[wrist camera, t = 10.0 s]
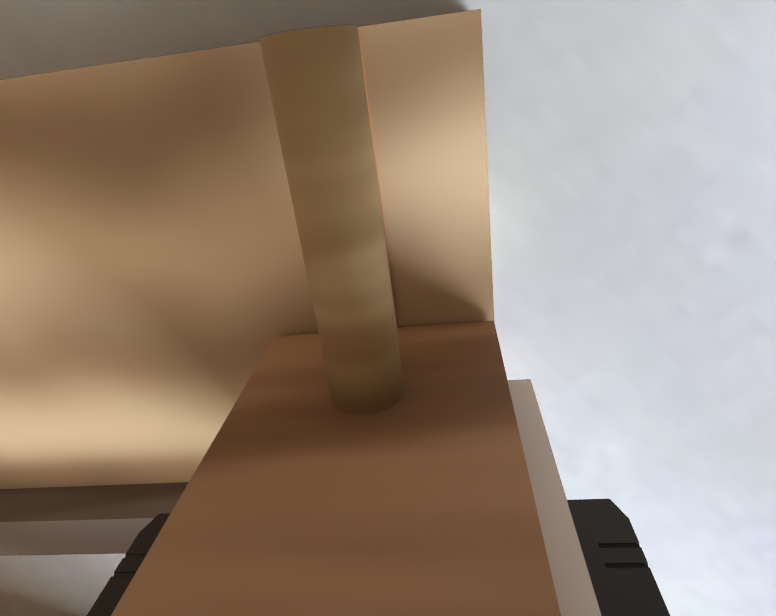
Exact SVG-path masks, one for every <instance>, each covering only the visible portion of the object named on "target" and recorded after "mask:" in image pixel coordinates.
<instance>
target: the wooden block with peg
mask: <svg viewBox="0 0 776 616" xmlns="http://www.w3.org/2000/svg"><path fill="white" fill-rule="evenodd" d="M259 40H260V45H261V50H262V55H263V60H264V65H265V70H266V75H267V80H268V85H269V90H270V95H271V100H272V105H273V110H274V115H275V120H276V124H277V129H278V134H279V139H280V144H281V149H282V154H283V159H284V164H285V169H286V174H287V179H288V184H289V189H290V194H291V199H292V204H293V209H294V214H295V219H296V224H297V228H298V233H299V238H300V243H301V248H302V253H303V258H304V263H305V268H306V273H307V278H308V283H309V288H310V293H311V298H312V303H313V308H314V313H315V318H316V323H317V328H318V333H314V334H300V335H286V336H274V338H273V339H272V341H271V343H270V345H269V346H268V348H267V350H266V351H265V353H264V355H263V356H262V358H261V360H260V362H259V363H258V365H257V367H256V368H255V370H254V372H253V374H252V375H251V377H250V379H249V380H248V382H247V384H246V386H245V387H244V389H243V391H242V392H241V394H240V396H239V398H238V399H237V401H236V403H235V404H234V406H233V408H232V409H231V411H230V413H229V415H228V416H227V418H226V420H225V421H224V423H223V425H222V427H221V428H220V430H219V432H218V433H217V435H216V437H215V439H214V440H213V442H212V444H211V445H210V447H209V449H208V451H207V452H206V454H205V456H204V457H203V459H202V461H201V462H200V464H199V466H198V468H197V469H196V471H195V473H194V474H193V476H192V478H191V480H190V481H189V483H188V485H187V486H186V488H185V490H184V492H183V493H182V495H181V497H180V498H179V500H178V502H177V503H176V505H175V507H174V509H173V510H172V512H171V514H170V515H169V517H168V519H167V521H166V522H165V524H164V526H163V527H162V529H161V531H160V533H159V534H158V536H157V538H156V539H155V541H154V543H153V545H152V546H151V548H150V550H149V551H148V553H147V555H146V556H145V558H144V560H143V562H142V563H141V565H140V567H139V568H138V570H137V572H136V574H135V575H134V577H133V579H132V580H131V582H130V584H129V586H128V587H127V589H126V591H125V592H124V594H123V596H122V598H121V599H120V601H119V603H118V604H117V606H116V608H115V609H114V611H113V613H112V615H111V616H561V614H560V609H559V605H558V600H557V596H556V592H555V587H554V583H553V578H552V574H551V570H550V565H549V561H548V557H547V552H546V548H545V543H544V539H543V535H542V530H541V526H540V521H539V517H538V513H537V508H536V504H535V500H534V495H533V491H532V486H531V482H530V478H529V473H528V469H527V464H526V460H525V456H524V451H523V447H522V443H521V438H520V434H519V429H518V425H517V421H516V416H515V412H514V407H513V403H512V399H511V394H510V390H509V386H508V381H507V377H506V372H505V368H504V364H503V359H502V355H501V350H500V346H499V342H498V337H497V333H496V329H495V324H494V320H492V321H479V322H465V323H451V324H437V325H424V326H410V327H397V325H396V318H395V310H394V302H393V295H392V287H391V279H390V272H389V264H388V256H387V249H386V241H385V233H384V226H383V218H382V210H381V203H380V195H379V187H378V180H377V172H376V164H375V157H374V149H373V141H372V134H371V126H370V118H369V111H368V103H367V95H366V88H365V80H364V72H363V65H362V57H361V49H360V42H359V34H358V26H357V25H334V26H323V27H314V28H306V29H299V30H292V31H286V32H281V33H275V34H271V35H267V36H263V37H260V38H259Z"/></svg>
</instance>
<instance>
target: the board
mask: <svg viewBox="0 0 776 616" xmlns="http://www.w3.org/2000/svg"><path fill="white" fill-rule="evenodd" d="M358 34H359V42H360V49H361V57H362V65H363V72H364V80H365V88H366V95H367V103H368V111H369V118H370V126H371V134H372V141H373V149H374V157H375V164H376V172H377V180H378V187H379V195H380V203H381V210H382V218H383V226H384V233H385V241H386V249H387V256H388V264H389V272H390V279H391V287H392V295H393V302H394V310H395V318H396V325H397V327H410V326H424V325H437V324H451V323H465V322H479V321H492V320H494V308H493V284H492V261H491V237H490V214H489V190H488V167H487V144H486V120H485V97H484V73H483V50H482V26H481V9H477V10H470V11H463V12H456V13H450V14H443V15H436V16H429V17H422V18H416V19H409V20H402V21H395V22H388V23H382V24H375V25H368V26H361V27H358ZM314 333H318V328H317V323H316V318H315V313H314V308H313V303H312V298H311V293H310V288H309V283H308V278H307V273H306V268H305V263H304V258H303V253H302V248H301V243H300V238H299V233H298V228H297V224H296V219H295V214H294V209H293V204H292V199H291V194H290V189H289V184H288V179H287V174H286V169H285V164H284V159H283V154H282V149H281V144H280V139H279V134H278V129H277V124H276V120H275V115H274V110H273V105H272V100H271V95H270V90H269V85H268V80H267V75H266V70H265V65H264V60H263V55H262V50H261V45H260V41H259V42H252V43H246V44H239V45H232V46H225V47H218V48H212V49H205V50H198V51H191V52H184V53H178V54H171V55H164V56H157V57H151V58H144V59H137V60H130V61H123V62H117V63H110V64H103V65H96V66H89V67H83V68H76V69H69V70H62V71H55V72H49V73H42V74H35V75H28V76H21V77H15V78H8V79H1V80H0V556H8V555H60V554H111V553H126V552H127V551H128V549H129V548H130V546H131V545H132V543H133V541H134V540H135V538H136V537H137V535H138V533H139V532H140V531H141V530H142V529H143V528H144V527H145V526H147V525H148V524H149V523H150V522H151V521H152V520H153V519H154V518H155V517H156V516H157V515H158V514H161V513H171V512H172V510H173V509H174V507H175V505H176V503H177V502H178V500H179V498H180V497H181V495H182V493H183V492H184V490H185V488H186V486H187V485H188V483H189V481H190V480H191V478H192V476H193V474H194V473H195V471H196V469H197V468H198V466H199V464H200V462H201V461H202V459H203V457H204V456H205V454H206V452H207V451H208V449H209V447H210V445H211V444H212V442H213V440H214V439H215V437H216V435H217V433H218V432H219V430H220V428H221V427H222V425H223V423H224V421H225V420H226V418H227V416H228V415H229V413H230V411H231V409H232V408H233V406H234V404H235V403H236V401H237V399H238V398H239V396H240V394H241V392H242V391H243V389H244V387H245V386H246V384H247V382H248V380H249V379H250V377H251V375H252V374H253V372H254V370H255V368H256V367H257V365H258V363H259V362H260V360H261V358H262V356H263V355H264V353H265V351H266V350H267V348H268V346H269V345H270V343H271V341H272V339H273V338H274V336H286V335H300V334H314Z"/></svg>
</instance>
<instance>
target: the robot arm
mask: <svg viewBox="0 0 776 616" xmlns="http://www.w3.org/2000/svg"><path fill="white" fill-rule="evenodd" d="M508 386H509V390H510V394H511V399H512V403H513V407H514V412H515V416H516V421H517V425H518V429H519V434H520V438H521V443H522V447H523V451H524V456H525V460H526V464H527V469H528V473H529V478H530V482H531V486H532V491H533V495H534V500H535V504H536V508H537V513H538V517H539V521H540V526H541V530H542V535H543V539H544V543H545V548H546V552H547V557H548V561H549V565H550V570H551V574H552V578H553V583H554V587H555V592H556V596H557V600H558V605H559V609H560V614H561V616H670V614H669V612H668V610H667V607H666V605H665V603H664V600H663V598H662V596H661V593H660V591H659V588H658V586H657V584H656V581H655V579H654V577H653V574H652V572H651V570H650V568H649V567H648V563H647V560H646V558H645V555H644V553H643V551H642V548H641V547H640V546H639V541H638V539H637V537H636V534H635V532H634V530H633V527H632V525H631V523H630V520H629V518H628V517H627V516H626V515H625V514H624V513H623V512H622V511H621V510H620V509H619V508H618V507H617V506H616V505H615V504H614V503H613V502H612V501H611V500H610V499H585V500H567V499H566V496H565V493H564V489H563V486H562V483H561V479H560V476H559V473H558V469H557V466H556V463H555V459H554V456H553V453H552V449H551V446H550V443H549V439H548V436H547V433H546V429H545V426H544V423H543V419H542V416H541V413H540V409H539V406H538V403H537V400H536V396H535V393H534V390H533V386H532V383H531V380H530V379H526V380H509V381H508ZM170 514H171V513H161V514H158V515H157V516H156V517H155V518H154V519H153V520H152V521H151V522H150V523H149V524H148V525H147V526H145V527H144V528H143V529H142V530H141V531H140V532H139V533H138V535H137V537H136V538H135V540H134V541H133V543H132V545H131V546H130V548H129V549H128V551H127V552H126V557H125V558H123V559H122V560H121V562H120V564H119V565H118V567H117V568H116V570H115V572H114V576H113V577H111V578H110V580H109V581H108V583H107V584H106V586H105V588H104V589H103V591H102V592H101V594H100V596H99V597H98V599H97V600H96V602H95V603H94V605H93V607H92V608H91V610H90V611H89V613H88V615H87V616H111V615H112V613H113V611H114V609H115V608H116V606H117V604H118V603H119V601H120V599H121V598H122V596H123V594H124V592H125V591H126V589H127V587H128V586H129V584H130V582H131V580H132V579H133V577H134V575H135V574H136V572H137V570H138V568H139V567H140V565H141V563H142V562H143V560H144V558H145V556H146V555H147V553H148V551H149V550H150V548H151V546H152V545H153V543H154V541H155V539H156V538H157V536H158V534H159V533H160V531H161V529H162V527H163V526H164V524H165V522H166V521H167V519H168V517H169V515H170Z"/></svg>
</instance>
